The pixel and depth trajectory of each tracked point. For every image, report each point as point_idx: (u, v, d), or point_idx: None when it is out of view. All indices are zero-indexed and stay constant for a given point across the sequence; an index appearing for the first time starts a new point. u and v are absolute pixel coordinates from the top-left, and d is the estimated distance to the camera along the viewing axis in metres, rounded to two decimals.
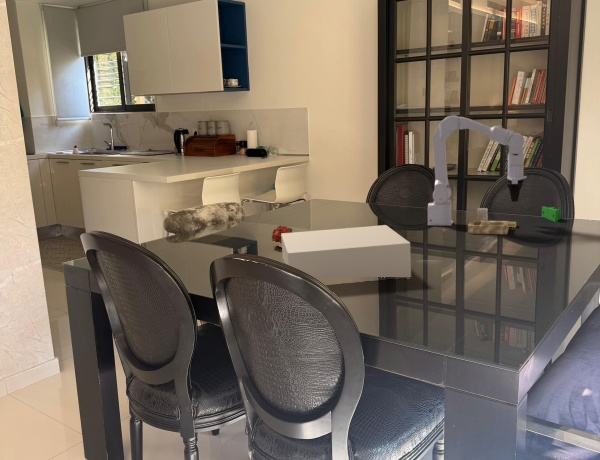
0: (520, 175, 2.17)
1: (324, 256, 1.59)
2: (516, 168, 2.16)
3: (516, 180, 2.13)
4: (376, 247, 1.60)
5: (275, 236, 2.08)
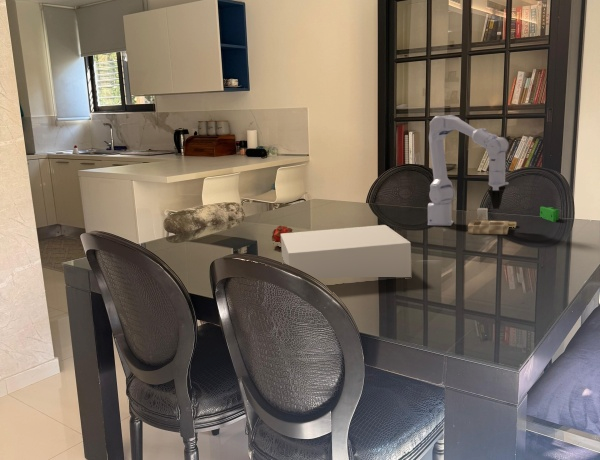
0: (502, 181, 2.08)
1: (324, 256, 1.59)
2: (497, 174, 2.08)
3: (497, 186, 2.04)
4: (376, 247, 1.60)
5: (275, 236, 2.08)
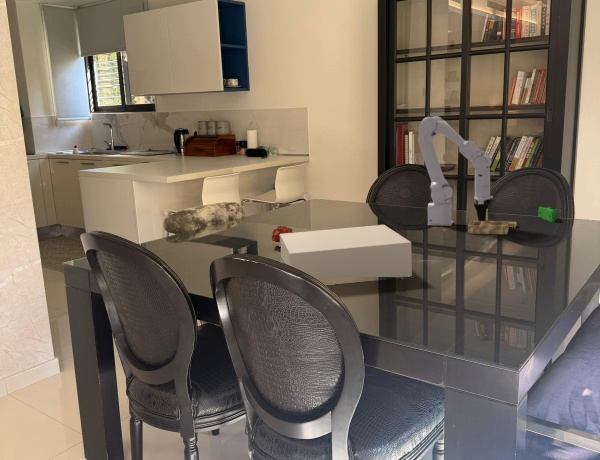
0: (486, 195, 2.20)
1: (326, 256, 1.59)
2: (482, 188, 2.19)
3: (482, 200, 2.16)
4: (377, 247, 1.60)
5: (275, 236, 2.08)
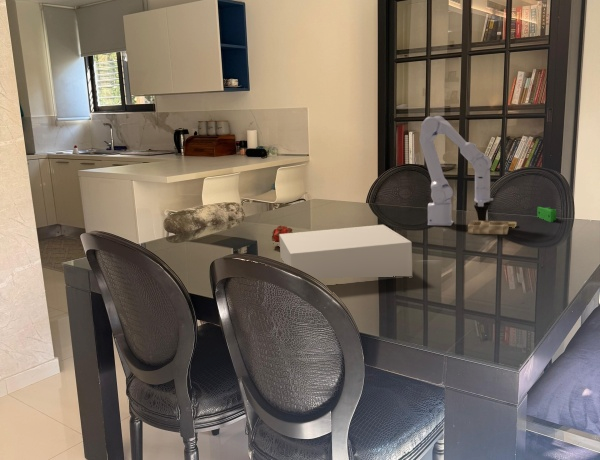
0: (486, 197, 2.20)
1: (326, 256, 1.59)
2: (482, 191, 2.20)
3: (482, 203, 2.16)
4: (378, 247, 1.61)
5: (275, 236, 2.08)
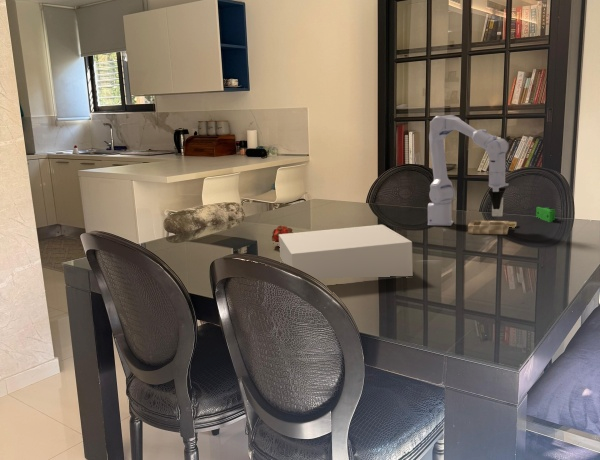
0: (502, 182, 2.08)
1: (327, 256, 1.59)
2: (497, 175, 2.08)
3: (497, 188, 2.05)
4: (378, 246, 1.61)
5: (275, 236, 2.08)
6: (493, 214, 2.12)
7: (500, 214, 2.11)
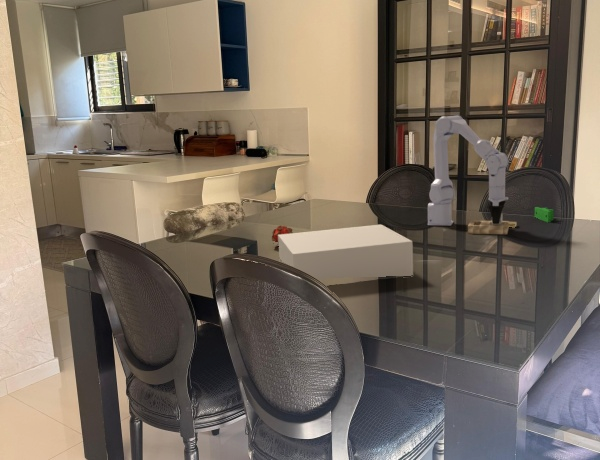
0: (501, 196, 2.09)
1: (328, 256, 1.59)
2: (497, 189, 2.09)
3: (497, 202, 2.06)
4: (379, 246, 1.61)
5: (275, 236, 2.08)
6: None
7: None
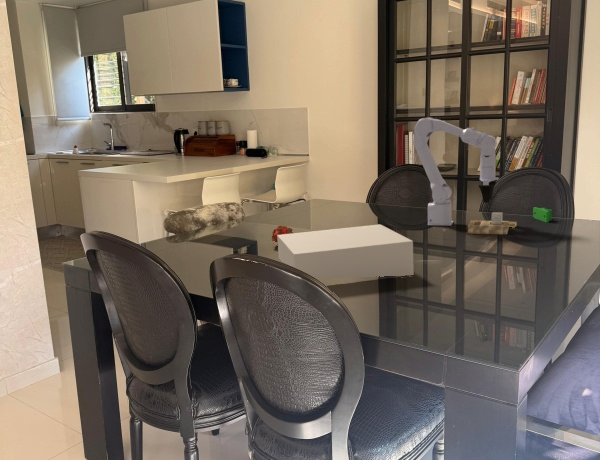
0: (492, 176, 2.20)
1: (329, 256, 1.58)
2: (488, 170, 2.19)
3: (487, 181, 2.16)
4: (380, 246, 1.61)
5: (275, 236, 2.08)
6: None
7: None
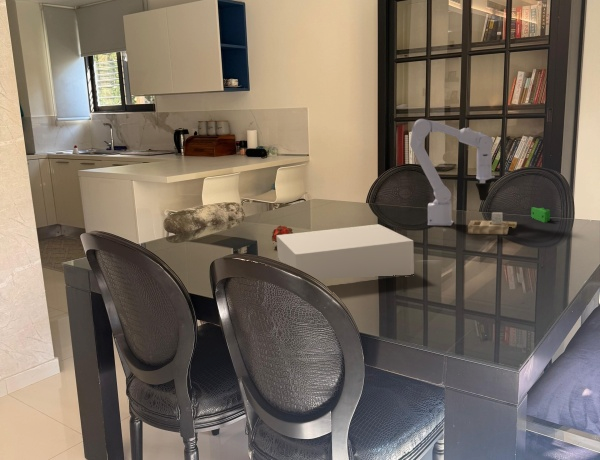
0: (488, 175, 2.25)
1: (331, 256, 1.58)
2: (484, 168, 2.24)
3: (484, 180, 2.21)
4: (381, 246, 1.61)
5: (275, 236, 2.08)
6: None
7: None
